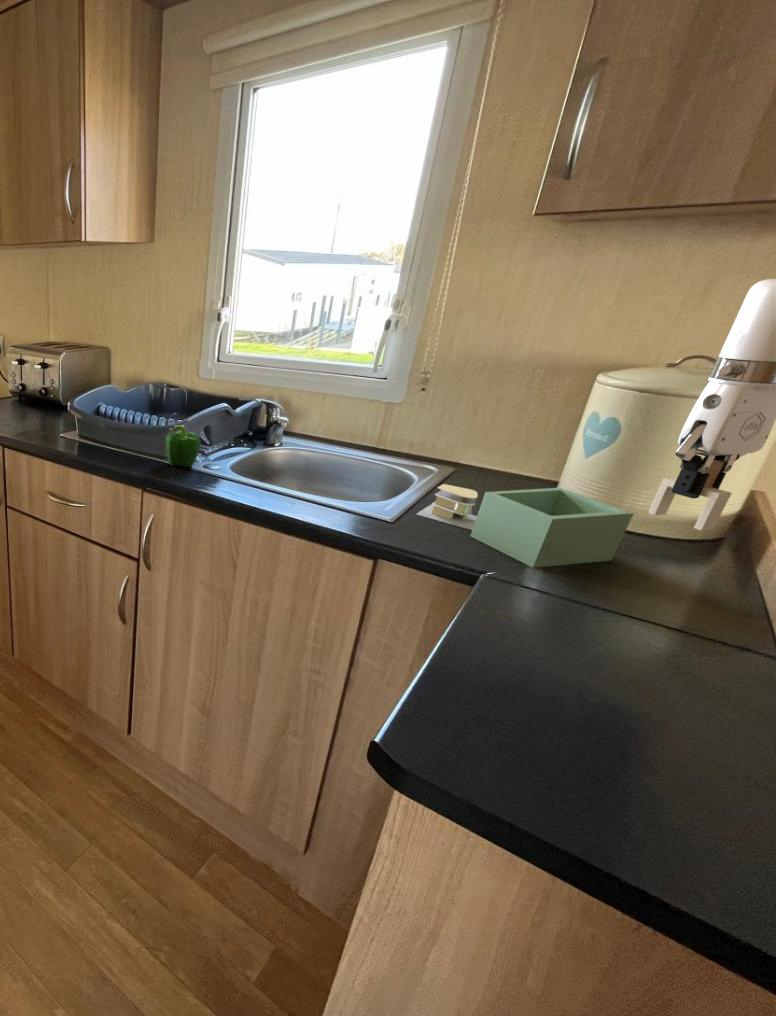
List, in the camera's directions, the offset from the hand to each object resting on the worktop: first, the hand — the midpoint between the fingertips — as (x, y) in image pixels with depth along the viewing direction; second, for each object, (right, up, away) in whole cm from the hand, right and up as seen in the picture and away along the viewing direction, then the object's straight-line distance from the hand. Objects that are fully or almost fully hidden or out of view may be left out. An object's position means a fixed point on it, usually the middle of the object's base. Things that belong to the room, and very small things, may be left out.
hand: (692, 493), depth 85 cm
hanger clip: (0, -4, +2) cm, 5 cm away
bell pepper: (-69, +10, +53) cm, 88 cm away
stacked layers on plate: (-20, -3, +25) cm, 33 cm away
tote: (-13, -9, +13) cm, 21 cm away
